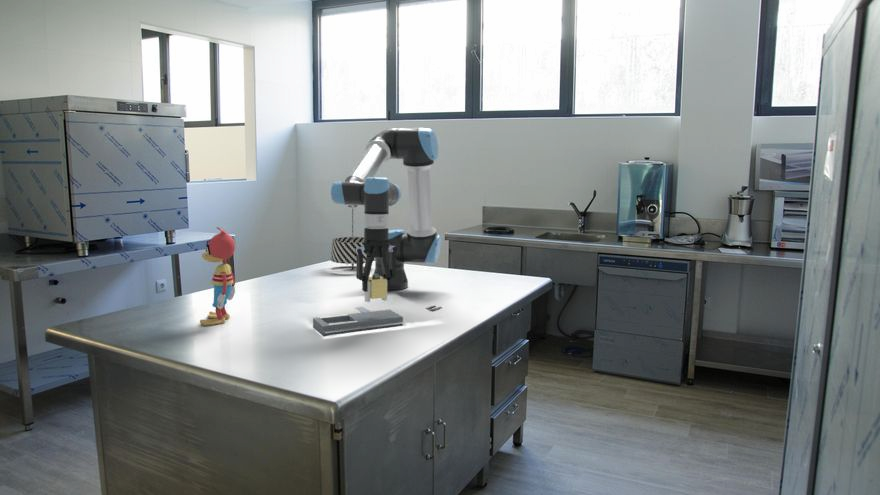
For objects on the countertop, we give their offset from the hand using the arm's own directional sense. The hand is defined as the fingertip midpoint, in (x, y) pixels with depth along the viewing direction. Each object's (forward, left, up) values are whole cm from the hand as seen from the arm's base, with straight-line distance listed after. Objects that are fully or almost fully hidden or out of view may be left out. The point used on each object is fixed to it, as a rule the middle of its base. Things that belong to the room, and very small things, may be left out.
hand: (376, 300), depth 193 cm
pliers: (-19, -8, -8) cm, 22 cm away
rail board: (+6, 0, -8) cm, 10 cm away
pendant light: (-27, -92, -8) cm, 96 cm away
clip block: (0, 0, +1) cm, 1 cm away
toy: (+43, -25, -8) cm, 50 cm away
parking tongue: (-1, -13, -8) cm, 15 cm away
